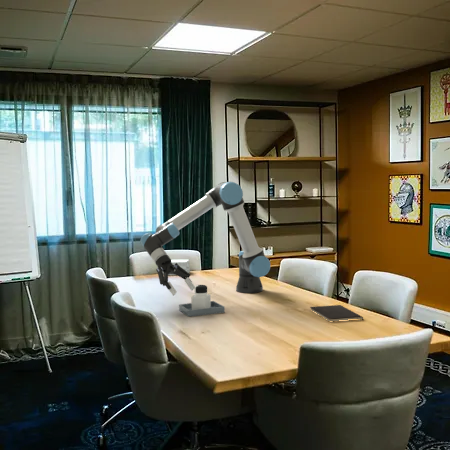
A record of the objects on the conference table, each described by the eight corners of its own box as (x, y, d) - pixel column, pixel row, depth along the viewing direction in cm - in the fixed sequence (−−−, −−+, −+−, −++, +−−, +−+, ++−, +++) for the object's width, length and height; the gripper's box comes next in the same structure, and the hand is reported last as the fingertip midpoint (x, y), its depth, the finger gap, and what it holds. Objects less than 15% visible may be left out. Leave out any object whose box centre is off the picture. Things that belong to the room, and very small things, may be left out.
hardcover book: (329, 323, 226) (329, 318, 226) (309, 311, 248) (309, 306, 248) (363, 321, 229) (363, 316, 229) (341, 309, 252) (341, 304, 251)
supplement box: (190, 272, 366) (189, 259, 366) (186, 275, 353) (186, 261, 353) (166, 272, 368) (166, 259, 367) (162, 275, 355) (162, 261, 354)
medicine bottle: (210, 308, 252) (210, 284, 251) (205, 312, 245) (204, 287, 244) (197, 308, 254) (196, 283, 253) (191, 311, 247) (190, 286, 247)
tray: (213, 306, 260) (213, 300, 259) (224, 312, 247) (224, 306, 246) (179, 310, 253) (179, 304, 252) (188, 316, 240) (188, 310, 240)
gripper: (174, 260, 275) (196, 291, 268) (139, 267, 256) (162, 300, 248) (181, 251, 272) (204, 282, 264) (147, 257, 252) (170, 290, 244)
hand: (184, 291), depth 256 cm, fingers open, 13 cm apart
